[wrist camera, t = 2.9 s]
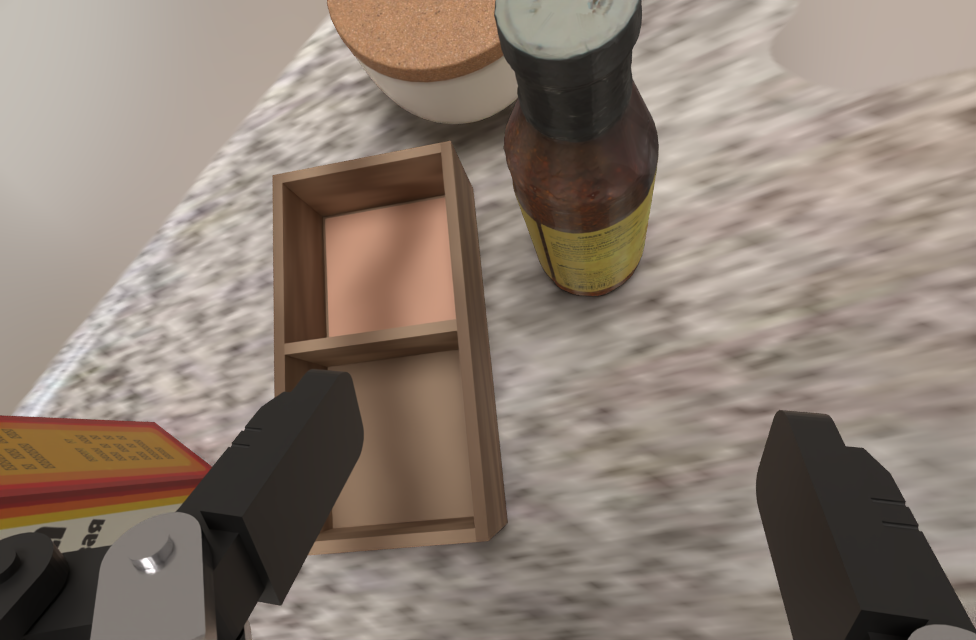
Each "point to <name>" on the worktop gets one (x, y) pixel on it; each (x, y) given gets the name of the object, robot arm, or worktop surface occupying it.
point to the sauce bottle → (579, 137)
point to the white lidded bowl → (430, 55)
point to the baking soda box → (89, 478)
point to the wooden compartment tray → (394, 341)
